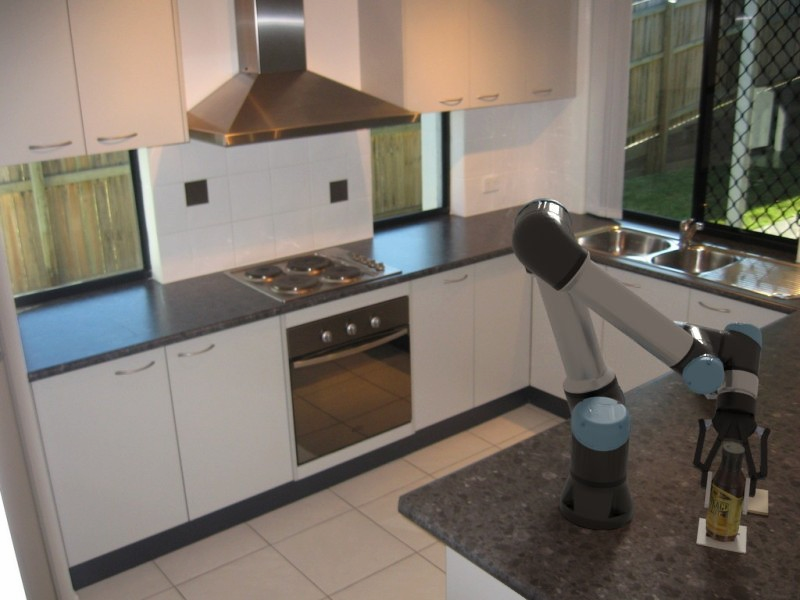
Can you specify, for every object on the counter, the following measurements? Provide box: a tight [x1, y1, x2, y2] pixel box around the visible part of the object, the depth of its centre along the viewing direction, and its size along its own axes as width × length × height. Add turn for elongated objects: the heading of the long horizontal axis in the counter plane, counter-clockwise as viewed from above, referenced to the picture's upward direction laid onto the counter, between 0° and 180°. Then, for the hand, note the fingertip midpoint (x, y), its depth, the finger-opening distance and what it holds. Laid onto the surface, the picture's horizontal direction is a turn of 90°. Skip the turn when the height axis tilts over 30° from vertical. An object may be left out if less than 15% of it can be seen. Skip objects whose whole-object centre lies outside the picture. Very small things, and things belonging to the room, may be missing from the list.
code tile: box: [696, 517, 748, 555], centre depth 169 cm, size 9×9×1 cm
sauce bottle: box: [705, 442, 746, 541], centre depth 165 cm, size 7×6×20 cm
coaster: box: [742, 488, 769, 516], centre depth 180 cm, size 9×9×1 cm
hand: (725, 509), depth 163 cm, fingers closed on sauce bottle, 6 cm apart
